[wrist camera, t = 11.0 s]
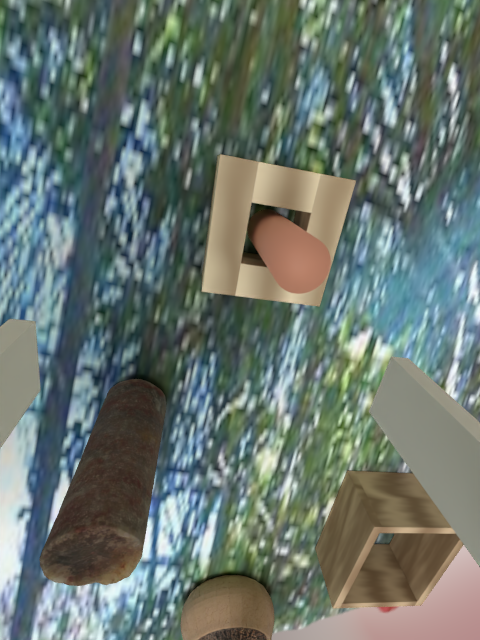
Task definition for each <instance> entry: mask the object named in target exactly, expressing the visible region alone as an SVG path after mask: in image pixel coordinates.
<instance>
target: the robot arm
mask: <svg viewBox="0 0 480 640" xmlns="http://www.w3.org/2000/svg"><path fill="white" fill-rule="evenodd" d="M39 391H40V378H39V364H38V351H37V337H36V323H35V321H26V320H16V319H9V320H8V321H7V322H5V323H4V324H3V325H2V326H1V327H0V448H1V447H2V445H3V444H4V442H5V441H6V439H7V438H8V436H9V435H10V434H11V432H12V431H13V429H14V428H15V426H16V425H17V423H18V422H19V420H20V419H21V418H22V416H23V415H24V413H25V412H26V410H27V409H28V407H29V406H30V404H31V403H32V402H33V400H34V399H35V397H36V396H37V394H38V393H39ZM369 412H370V413H371V415H372V416H373V418H374V419H375V421H376V422H377V423H378V425H379V426H380V428H381V429H382V430H383V432H384V433H385V435H386V436H387V437H388V439H389V440H390V442H391V443H392V444H393V446H394V447H395V449H396V450H397V451H398V453H399V454H400V456H401V457H402V458H403V460H404V461H405V463H406V464H407V465H408V467H409V468H410V470H411V471H412V472H413V474H414V475H415V477H416V478H417V480H418V481H419V482H420V484H421V485H422V487H423V488H424V489H425V491H426V492H427V494H428V495H429V496H430V498H431V499H432V501H433V502H434V503H435V505H436V506H437V508H438V509H439V510H440V512H441V513H442V515H443V516H444V517H445V519H446V520H447V522H448V523H449V524H450V526H451V527H452V529H453V530H454V532H455V533H456V534H457V536H458V537H459V539H460V540H461V541H462V543H463V544H464V545H465V547H466V548H467V550H468V551H469V552H470V554H471V555H472V557H473V558H474V560H475V561H476V562H477V564H478V565H479V567H480V422H478V421H477V420H476V419H475V418H474V417H473V416H472V415H471V414H470V413H468V412H467V411H466V410H465V409H464V408H463V407H462V406H461V405H459V404H458V403H457V402H456V401H455V400H454V399H453V398H452V397H451V396H449V395H448V394H447V393H446V392H445V391H444V390H443V389H442V388H441V387H439V386H438V385H437V384H436V383H435V382H434V381H433V380H432V379H431V378H429V377H428V376H427V375H426V374H425V373H424V372H423V371H422V370H421V369H419V368H418V367H417V366H416V365H415V364H414V363H413V362H412V361H411V360H409V359H408V358H399V357H391V359H390V361H389V364H388V366H387V369H386V371H385V373H384V376H383V378H382V381H381V383H380V386H379V388H378V391H377V393H376V396H375V398H374V400H373V403H372V405H371V408H370V410H369Z"/></svg>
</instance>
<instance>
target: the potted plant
mask: <svg viewBox="0 0 480 640" xmlns="http://www.w3.org/2000/svg"><path fill="white" fill-rule="evenodd" d="M273 626H274V609H273V603H272V600H271V598H270V596H269V594H268V592H267V591H266V589H265V588H264V586H263V585H262V584H260V583H259V582H257V581H256V580H254V579H251V578H249V577H246V576H240V575H226V576H220V577H216V578H213V579H210V580H208V581H206V582H204V583H202V584H200V585H199V586H198V587H197V588H195V589H194V590H193V591H192V592H191V593H190V595H189V596H188V598H187V600H186V602H185V604H184V607H183V611H182V616H181V632H182V636H183V640H271V637H272V632H273Z"/></svg>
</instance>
